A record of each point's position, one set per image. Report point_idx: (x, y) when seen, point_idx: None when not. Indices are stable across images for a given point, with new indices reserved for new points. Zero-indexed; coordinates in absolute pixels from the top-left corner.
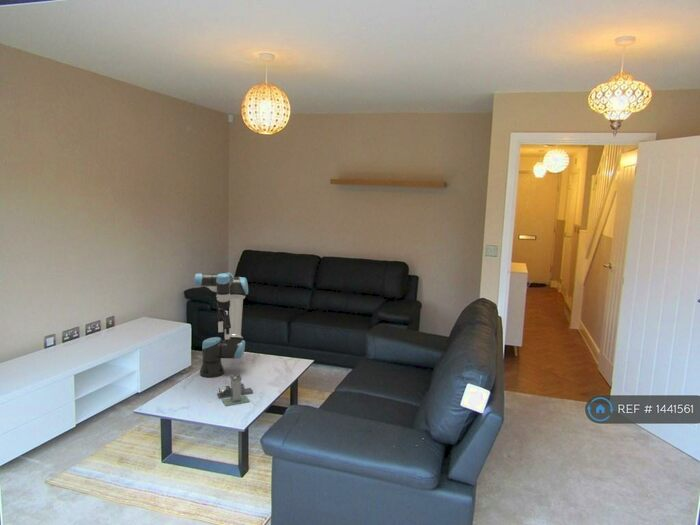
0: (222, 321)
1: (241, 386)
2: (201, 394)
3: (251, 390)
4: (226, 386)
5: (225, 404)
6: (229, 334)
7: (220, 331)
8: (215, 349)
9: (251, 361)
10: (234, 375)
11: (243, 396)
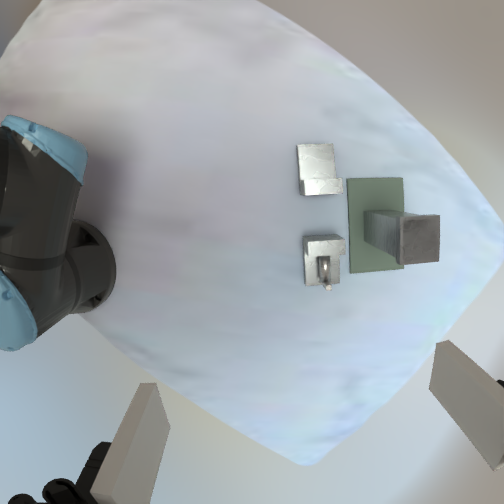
0: (114, 501)
1: (336, 191)
2: (268, 332)
3: (327, 148)
4: (313, 254)
5: (395, 267)
6: (479, 368)
7: (162, 415)
8: (44, 290)
9: (18, 108)
10: (401, 242)
11: (355, 189)
